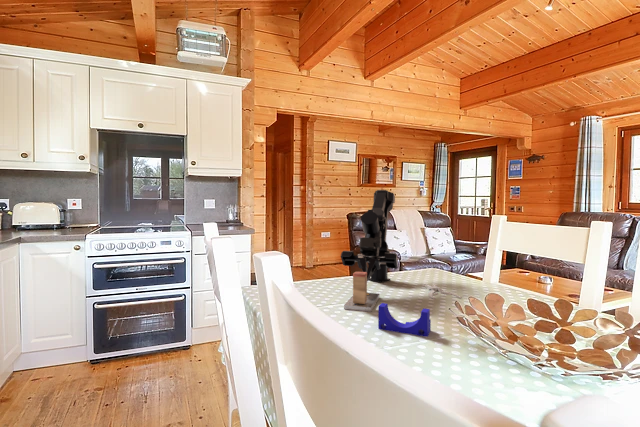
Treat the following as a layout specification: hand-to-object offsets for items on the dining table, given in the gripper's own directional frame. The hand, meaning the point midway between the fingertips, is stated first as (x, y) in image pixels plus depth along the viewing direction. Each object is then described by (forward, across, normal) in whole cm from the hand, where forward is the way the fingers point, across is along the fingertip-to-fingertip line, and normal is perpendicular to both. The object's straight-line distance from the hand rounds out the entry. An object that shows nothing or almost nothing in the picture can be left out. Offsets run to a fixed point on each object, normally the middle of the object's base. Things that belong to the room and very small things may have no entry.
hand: (365, 281), depth 118 cm
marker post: (+9, 0, -3) cm, 10 cm away
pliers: (-6, +22, +16) cm, 28 cm away
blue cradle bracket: (+21, +14, -13) cm, 29 cm away
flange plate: (+7, 0, +1) cm, 7 cm away
